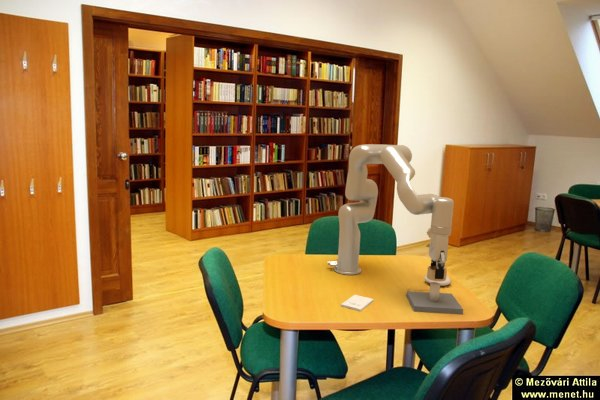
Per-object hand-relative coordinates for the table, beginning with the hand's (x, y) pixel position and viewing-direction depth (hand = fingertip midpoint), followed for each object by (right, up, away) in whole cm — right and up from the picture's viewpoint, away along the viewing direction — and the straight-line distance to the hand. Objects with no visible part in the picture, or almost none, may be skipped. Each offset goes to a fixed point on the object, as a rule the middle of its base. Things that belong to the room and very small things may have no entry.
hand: (436, 275), depth 187 cm
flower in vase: (+7, -8, +28) cm, 30 cm away
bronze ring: (0, -1, 0) cm, 1 cm away
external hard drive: (-31, -12, -1) cm, 33 cm away
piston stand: (-1, -12, +2) cm, 12 cm away
